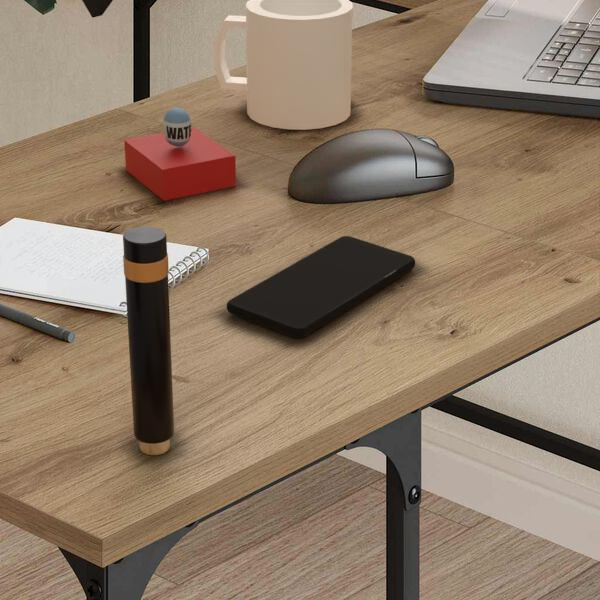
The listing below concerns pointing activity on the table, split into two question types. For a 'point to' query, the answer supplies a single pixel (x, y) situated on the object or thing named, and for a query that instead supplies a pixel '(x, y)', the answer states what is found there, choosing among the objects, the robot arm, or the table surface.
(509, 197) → the table surface
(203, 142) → the red rectangular block
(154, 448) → the marker
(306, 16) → the mug
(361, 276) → the smartphone
